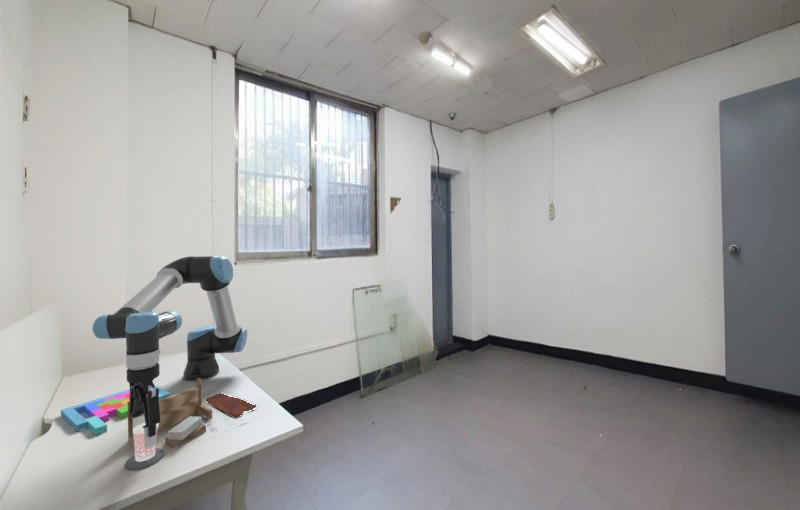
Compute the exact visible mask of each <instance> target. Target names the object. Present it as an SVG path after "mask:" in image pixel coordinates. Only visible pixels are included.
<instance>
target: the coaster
mask: <svg viewBox="0 0 800 510" xmlns="http://www.w3.org/2000/svg"><path fill="white" fill-rule="evenodd" d="M164 455H165V450H164V449H162V448H160V447H158V448H157V447H156V450H155V455H154V456H153V457H152V458H150V459H148V460H146V461H141V462H137V461H136V460H135V454H133V455H132V456H130V457H129V458H128V459H127V460H126V461H125V463H124V468H125V470H127V471H138V470H143V469H146V468H149V467H151V466H153V465H155V464H156V463H158V462H159V461H160V460H162V458H164Z"/></svg>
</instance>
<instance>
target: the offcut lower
mask: <svg viewBox="0 0 800 510" xmlns="http://www.w3.org/2000/svg"><path fill="white" fill-rule="evenodd" d="M206 432H207V426H206V425H205V424H203V423H202V424H201V425H200V426H199V427H198V428H196V429H195V430H194V431H193V432H191V433H190V434H189V435H188V436H186V437H185V438H184V439H183V440H171V439H168V435H167V436H165V437H164V442H165V443H164V444H165V445H167V446H169V447H171V448H174V449H176V448H177V447H179V446H181V445H182V444H185V443H187V442H188V441H190V440H192V439H194V438H196V437H198V436H200V435H201V434H203V433H206Z"/></svg>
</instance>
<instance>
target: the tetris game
mask: <svg viewBox="0 0 800 510" xmlns="http://www.w3.org/2000/svg"><path fill="white" fill-rule="evenodd" d="M154 386H155V389H157V388H158V389H159V396H158V397H159V400H161V399H163V398H166V397H169V396H171V393H170V392H169V391H166V390H165V389H163V388H162V387H160V386H157V385H155V384H154ZM145 399H147V398H145ZM129 401H130V388H129V389H126V390H122V391H118V392H116V393H112V394H109V395H106V396H102V397H99V398H96V399H92V400H89V401H85V402H83V403H79V404H76V405H72V406H69V407H66V408H63V409H61V410H60V417H61V418H62V419H64V421H65V420H66V421H67V422H68V423H69V424H70V425H71V426H72V427H73V428H74V429H75V430H76V431H78V430H81V429H84V428H86V429H88V430H90V432H92V433H93V434H94V436H99V435H100V434H101V435H102V434H104V433H106V432H107V431H108V424H107V423H106V422H109V421H110V418H112V417H114V416H116V417H118V418H120V420H123V419H126V418H128V402H129ZM80 413H85V414H86V415H88V417H87V418H84V416H82V415H81V414H80ZM66 421H65V422H66ZM67 422H66V423H67ZM68 423H67V424H68ZM69 424H68V425H69ZM71 426H70V427H71ZM72 427H71V428H72ZM73 428H72V429H73ZM74 429H73V430H74ZM75 430H74V431H75ZM84 430H85V429H84ZM76 431H75V432H76ZM81 431H82V430H81ZM78 432H79V431H78Z"/></svg>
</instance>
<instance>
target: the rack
mask: <svg viewBox="0 0 800 510" xmlns="http://www.w3.org/2000/svg"><path fill="white" fill-rule="evenodd" d="M195 381H196V382H195V383H196V384H195V387H193V388H190V389H187V390H186V389H185V390H183V391H182V392H178V393H175V394H172V395H170V396H169V397H166V398H163V399H161V400H159V409H160V423H159V426H158V428H157V432H158V431H162V429H165V428H168V427H170V426H172V425H175V424H178V423H179V422H180V423H181V422H182V421H184V420H185V419H186V418H188V417H189V416H192V417H195V416H196V414H197V415H200V414H201V416H202V415H203V417H204V416H205V417H204V418H206V417H207V418H206V419H208V420H210V419H212V418H213V409H211V408H210V407H208V406H205V405H203V404H202V402H203V401H202V399H203V398H202V396H203V395H202V393H203V392H202V380H201V378H198V379H196V380H195ZM129 402H130V401H129ZM129 402H128V417H127V434H128V435H127V436H128V438H127V439H128V443H129V444H131V445H132V446H134V440H133V431H132V430H133V418H134V417H132V413H129ZM198 413H199V414H198ZM143 414H144V413H143ZM143 414H141V415H143Z"/></svg>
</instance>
